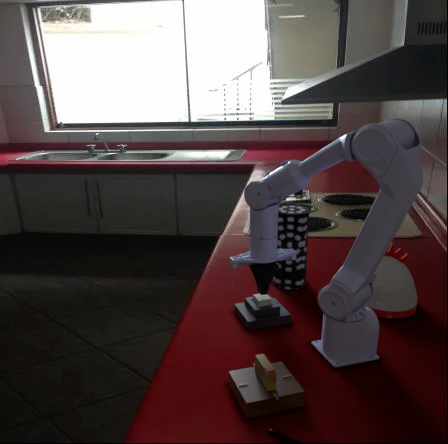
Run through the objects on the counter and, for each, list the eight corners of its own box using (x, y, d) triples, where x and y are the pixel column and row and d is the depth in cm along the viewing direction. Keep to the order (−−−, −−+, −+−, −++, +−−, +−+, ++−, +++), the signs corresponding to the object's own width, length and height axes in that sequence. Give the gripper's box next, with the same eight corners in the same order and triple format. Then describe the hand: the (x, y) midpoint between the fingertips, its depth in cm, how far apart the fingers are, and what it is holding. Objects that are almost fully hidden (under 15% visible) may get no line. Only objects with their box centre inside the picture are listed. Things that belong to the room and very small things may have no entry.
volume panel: (279, 373, 76) (279, 358, 75) (306, 409, 67) (307, 393, 66) (227, 383, 74) (227, 368, 73) (247, 421, 66) (248, 405, 65)
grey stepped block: (274, 305, 99) (274, 290, 97) (290, 323, 91) (291, 307, 90) (234, 312, 97) (234, 296, 96) (247, 330, 89) (248, 314, 88)
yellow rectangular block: (254, 372, 72) (254, 353, 71) (263, 370, 72) (263, 352, 71) (267, 391, 67) (267, 372, 66) (276, 389, 68) (276, 370, 67)
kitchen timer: (348, 285, 106) (353, 230, 101) (410, 292, 101) (419, 234, 96) (350, 313, 94) (356, 251, 89) (421, 322, 89) (431, 257, 84)
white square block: (265, 299, 95) (265, 292, 94) (271, 305, 92) (271, 298, 91) (252, 301, 94) (253, 294, 94) (258, 307, 91) (258, 300, 91)
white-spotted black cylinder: (305, 291, 105) (309, 215, 98) (270, 287, 107) (273, 213, 101) (305, 276, 112) (309, 205, 106) (273, 274, 115) (275, 204, 108)
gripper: (286, 225, 93) (284, 280, 97) (224, 233, 90) (225, 289, 95) (302, 235, 86) (299, 294, 91) (236, 244, 84) (236, 304, 88)
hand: (262, 292), depth 92 cm, fingers closed
